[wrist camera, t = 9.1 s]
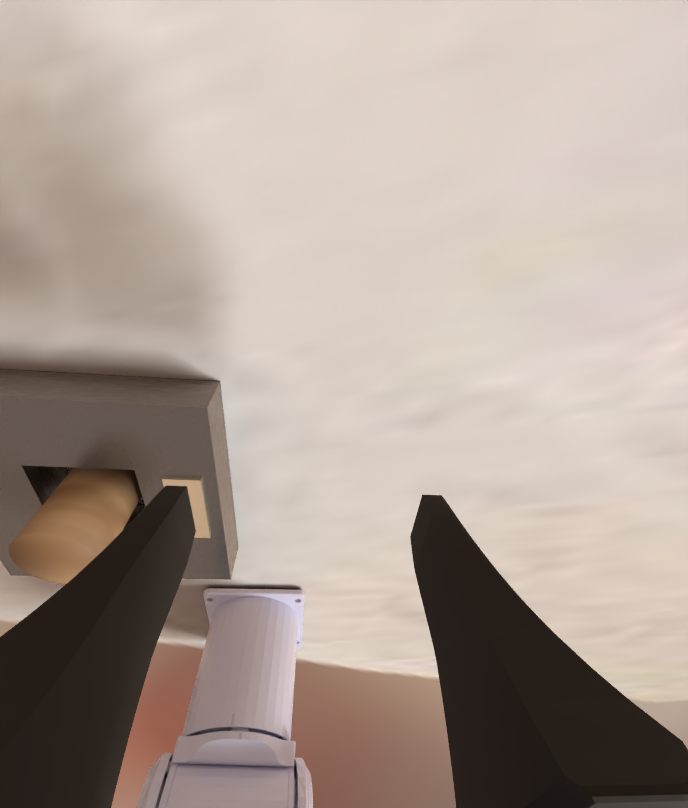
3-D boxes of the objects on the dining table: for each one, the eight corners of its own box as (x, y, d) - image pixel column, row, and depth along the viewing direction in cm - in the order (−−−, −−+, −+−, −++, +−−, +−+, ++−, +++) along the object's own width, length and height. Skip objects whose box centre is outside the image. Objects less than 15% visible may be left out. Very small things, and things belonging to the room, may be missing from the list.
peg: (153, 497, 24) (107, 585, 19) (88, 493, 24) (24, 582, 19) (143, 451, 22) (89, 536, 17) (72, 445, 22) (-5, 531, 17)
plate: (238, 547, 27) (230, 582, 25) (36, 542, 26) (8, 578, 24) (219, 381, 20) (205, 410, 17) (-66, 365, 19) (-120, 393, 16)
